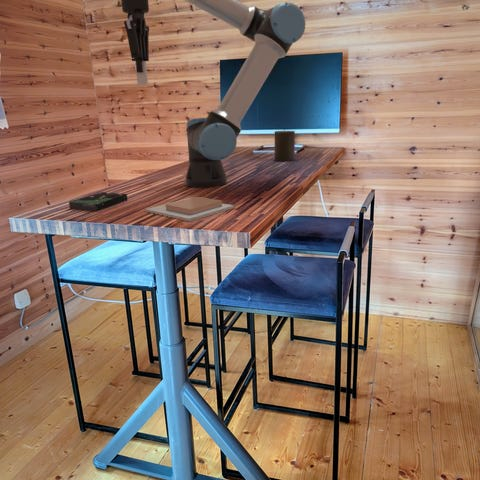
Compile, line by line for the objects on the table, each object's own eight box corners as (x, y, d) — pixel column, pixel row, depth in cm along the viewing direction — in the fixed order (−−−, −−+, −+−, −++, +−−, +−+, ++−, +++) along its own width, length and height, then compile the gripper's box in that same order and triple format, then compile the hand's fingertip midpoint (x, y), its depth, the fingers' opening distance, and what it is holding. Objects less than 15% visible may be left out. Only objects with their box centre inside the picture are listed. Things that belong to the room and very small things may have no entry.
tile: (197, 196, 130) (221, 200, 124) (197, 201, 131) (222, 206, 124) (165, 204, 122) (190, 209, 115) (166, 210, 122) (191, 215, 116)
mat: (190, 200, 137) (189, 197, 136) (233, 208, 125) (233, 205, 125) (145, 211, 124) (145, 209, 124) (189, 221, 113) (189, 218, 113)
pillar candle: (284, 162, 208) (284, 129, 204) (270, 160, 216) (270, 128, 211) (298, 160, 214) (299, 128, 210) (284, 158, 221) (284, 127, 217)
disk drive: (101, 200, 144) (69, 210, 131) (100, 191, 143) (67, 201, 130) (128, 202, 140) (97, 212, 127) (127, 193, 140) (96, 203, 126)
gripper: (131, 2, 133) (139, 85, 140) (111, -7, 121) (121, 84, 128) (155, 0, 132) (162, 84, 139) (137, -10, 119) (146, 83, 127)
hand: (142, 84), depth 133 cm, fingers closed
